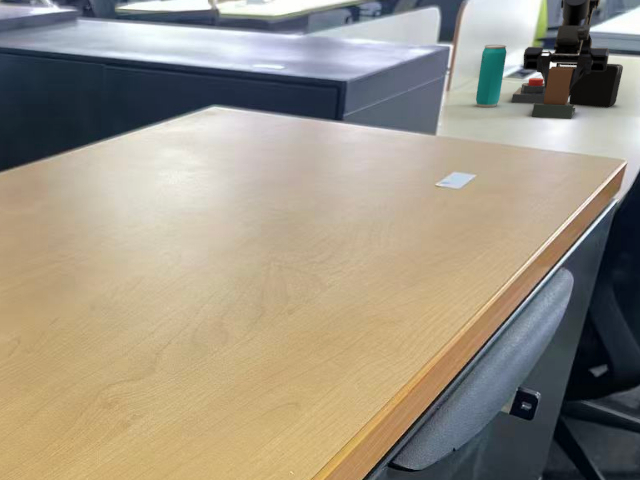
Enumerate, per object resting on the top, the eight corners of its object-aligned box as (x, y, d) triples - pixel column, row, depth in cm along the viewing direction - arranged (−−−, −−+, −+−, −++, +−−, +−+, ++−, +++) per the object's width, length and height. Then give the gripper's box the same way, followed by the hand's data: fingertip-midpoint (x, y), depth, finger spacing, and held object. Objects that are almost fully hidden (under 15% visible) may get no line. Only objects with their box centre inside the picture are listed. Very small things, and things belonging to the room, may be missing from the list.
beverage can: (497, 104, 229) (507, 44, 222) (498, 108, 224) (507, 46, 217) (474, 104, 230) (483, 44, 224) (475, 107, 226) (483, 47, 219)
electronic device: (574, 102, 227) (582, 62, 223) (615, 105, 221) (623, 64, 216) (568, 104, 225) (576, 64, 220) (608, 108, 218) (617, 66, 214)
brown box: (543, 112, 217) (552, 66, 212) (565, 113, 214) (574, 67, 209) (541, 115, 213) (549, 69, 208) (563, 117, 210) (572, 69, 205)
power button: (528, 84, 233) (530, 77, 232) (543, 85, 232) (544, 78, 231) (526, 86, 231) (528, 79, 230) (541, 87, 229) (542, 80, 228)
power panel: (518, 95, 239) (520, 80, 238) (553, 97, 235) (556, 81, 233) (511, 102, 230) (513, 87, 228) (547, 104, 226) (550, 88, 224)
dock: (536, 110, 219) (538, 98, 217) (574, 112, 215) (577, 100, 213) (531, 116, 212) (533, 104, 211) (570, 118, 208) (573, 106, 207)
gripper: (531, 11, 210) (516, 65, 207) (617, 11, 201) (603, 67, 198) (530, 42, 220) (516, 94, 216) (612, 43, 211) (599, 97, 208)
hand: (557, 87), depth 209 cm, fingers closed on brown box, 5 cm apart
